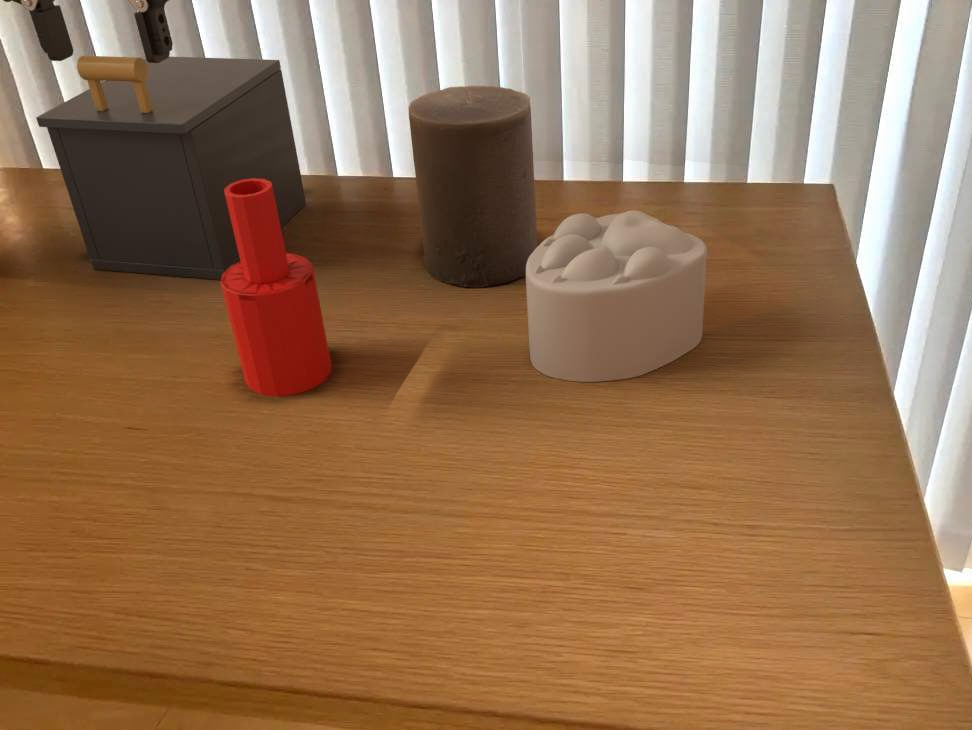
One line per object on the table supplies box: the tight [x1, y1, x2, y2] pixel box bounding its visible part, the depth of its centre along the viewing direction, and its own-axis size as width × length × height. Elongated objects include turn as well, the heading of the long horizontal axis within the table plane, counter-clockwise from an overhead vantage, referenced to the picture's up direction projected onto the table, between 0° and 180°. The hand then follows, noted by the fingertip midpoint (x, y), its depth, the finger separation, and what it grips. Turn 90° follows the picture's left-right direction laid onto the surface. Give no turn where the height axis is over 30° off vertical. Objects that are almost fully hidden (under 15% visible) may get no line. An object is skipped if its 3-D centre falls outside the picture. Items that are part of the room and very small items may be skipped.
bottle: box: [220, 178, 332, 397], centre depth 67 cm, size 6×6×15 cm
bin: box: [46, 69, 307, 281], centre depth 89 cm, size 16×13×13 cm
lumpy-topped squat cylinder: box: [525, 210, 708, 383], centre depth 72 cm, size 10×13×9 cm
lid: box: [35, 55, 282, 134], centre depth 84 cm, size 17×13×5 cm
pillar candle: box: [408, 85, 539, 288], centre depth 82 cm, size 10×10×15 cm
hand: (110, 59), depth 77 cm, fingers open, 8 cm apart
